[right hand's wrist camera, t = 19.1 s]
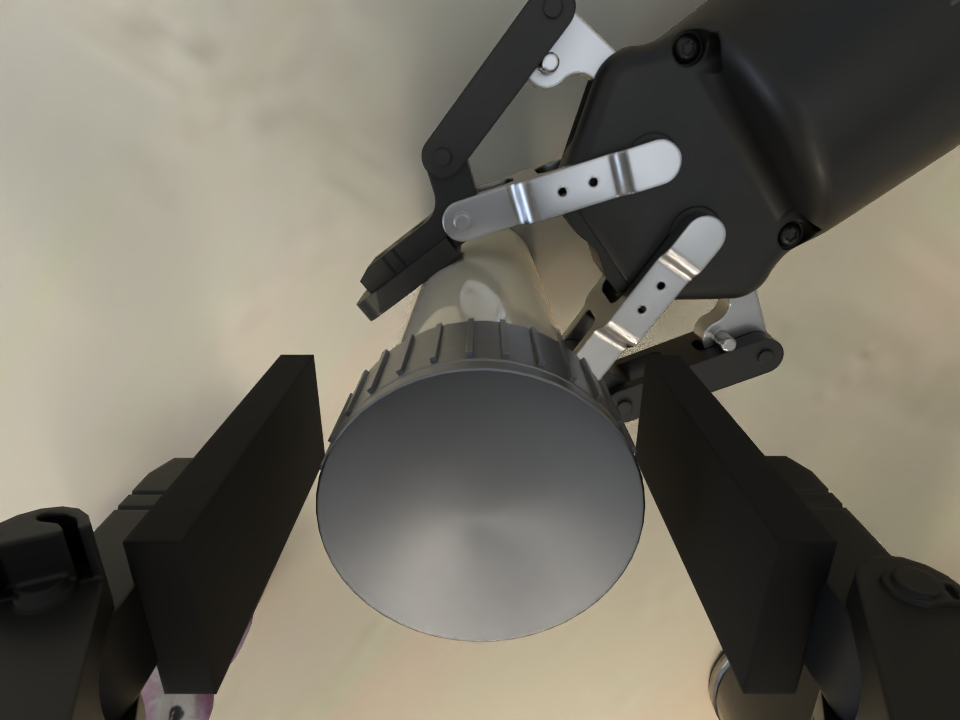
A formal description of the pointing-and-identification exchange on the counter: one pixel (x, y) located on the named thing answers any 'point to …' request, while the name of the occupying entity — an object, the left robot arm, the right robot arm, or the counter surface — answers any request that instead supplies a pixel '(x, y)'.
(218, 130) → the counter surface
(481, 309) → the jar
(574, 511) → the lid
